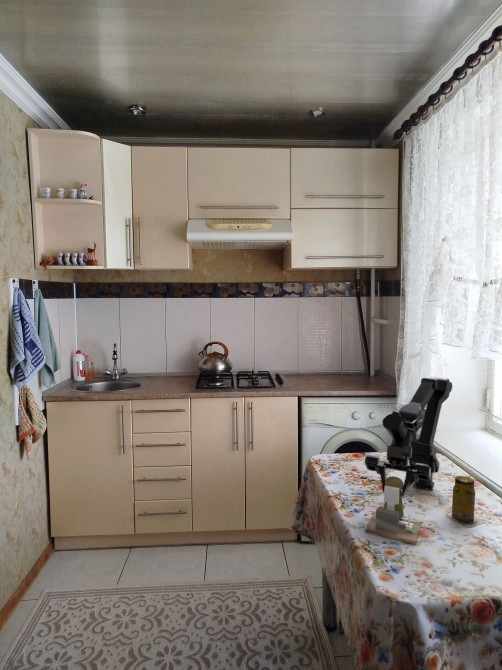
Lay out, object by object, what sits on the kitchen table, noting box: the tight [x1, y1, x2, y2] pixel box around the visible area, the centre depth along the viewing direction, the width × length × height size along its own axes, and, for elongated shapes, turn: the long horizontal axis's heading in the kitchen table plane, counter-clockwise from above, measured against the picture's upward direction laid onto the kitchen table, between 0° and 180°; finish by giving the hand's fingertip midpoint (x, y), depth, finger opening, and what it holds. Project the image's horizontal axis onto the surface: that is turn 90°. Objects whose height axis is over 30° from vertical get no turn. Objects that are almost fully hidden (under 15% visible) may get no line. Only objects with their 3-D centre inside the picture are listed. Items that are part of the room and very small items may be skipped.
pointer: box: [406, 513, 412, 531], centre depth 126 cm, size 1×2×5 cm, turn 62°
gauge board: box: [364, 506, 422, 545], centre depth 129 cm, size 11×14×6 cm
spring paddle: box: [383, 485, 413, 528], centre depth 130 cm, size 2×8×10 cm, turn 62°
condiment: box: [444, 475, 486, 528], centre depth 134 cm, size 7×8×12 cm
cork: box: [383, 476, 405, 519], centre depth 134 cm, size 6×6×11 cm
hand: (392, 494), depth 133 cm, fingers closed on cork, 5 cm apart
